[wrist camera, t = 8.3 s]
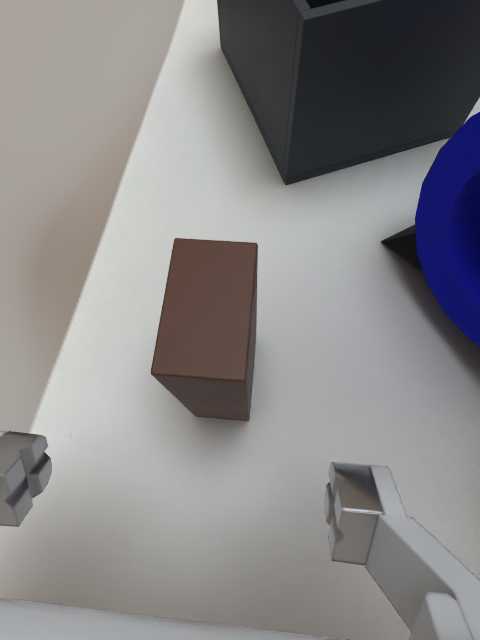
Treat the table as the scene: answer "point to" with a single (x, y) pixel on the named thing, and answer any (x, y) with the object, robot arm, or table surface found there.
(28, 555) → the table surface
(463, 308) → the alarm clock
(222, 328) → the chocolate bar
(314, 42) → the trash bin
